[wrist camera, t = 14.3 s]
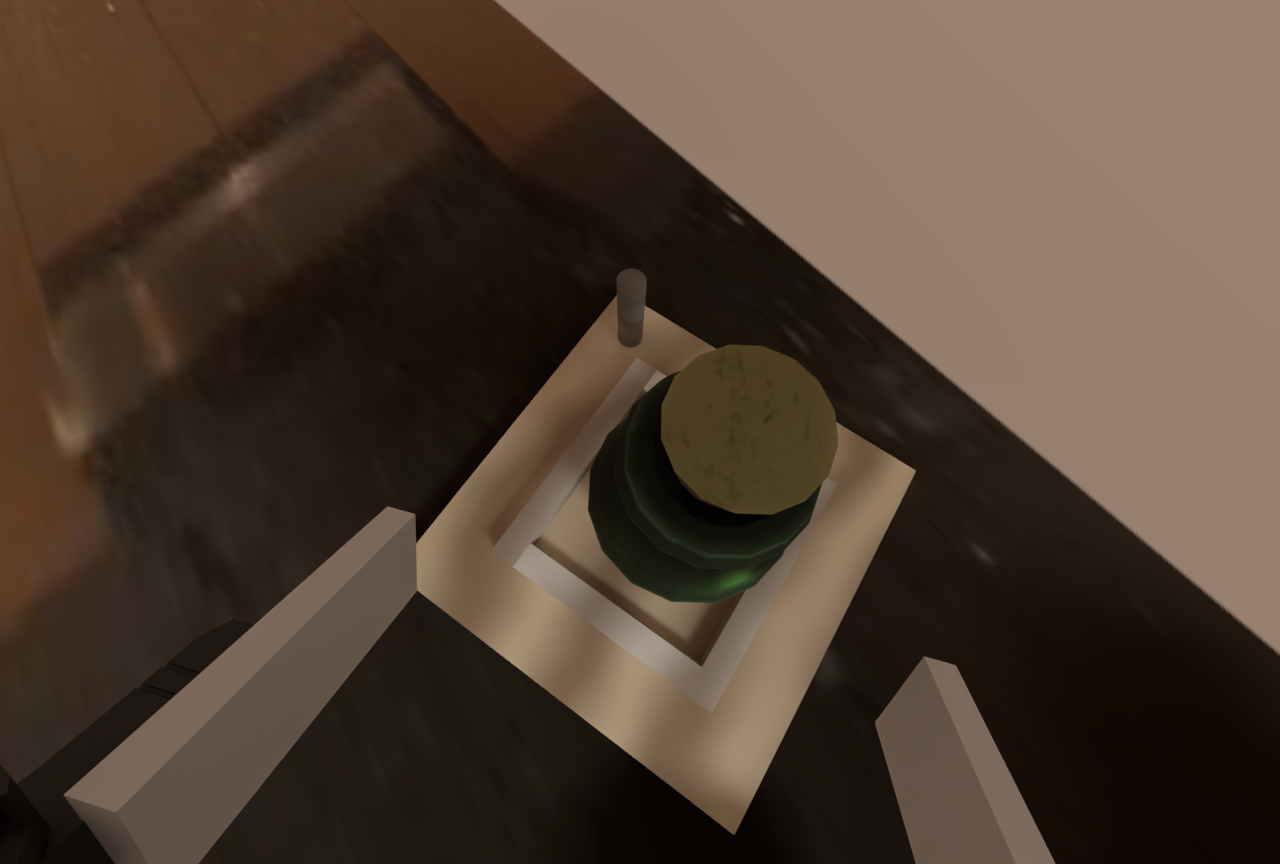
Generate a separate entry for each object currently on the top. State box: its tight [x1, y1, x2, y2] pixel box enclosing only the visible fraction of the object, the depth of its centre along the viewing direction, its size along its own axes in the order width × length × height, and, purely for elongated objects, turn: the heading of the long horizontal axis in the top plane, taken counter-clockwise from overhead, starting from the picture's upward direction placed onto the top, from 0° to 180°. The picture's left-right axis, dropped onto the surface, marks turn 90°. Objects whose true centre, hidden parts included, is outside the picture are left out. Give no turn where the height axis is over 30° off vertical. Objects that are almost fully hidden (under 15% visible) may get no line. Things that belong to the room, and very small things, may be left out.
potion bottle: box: [588, 345, 839, 603], centre depth 18 cm, size 8×8×18 cm
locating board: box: [416, 269, 916, 835], centre depth 25 cm, size 22×22×8 cm
